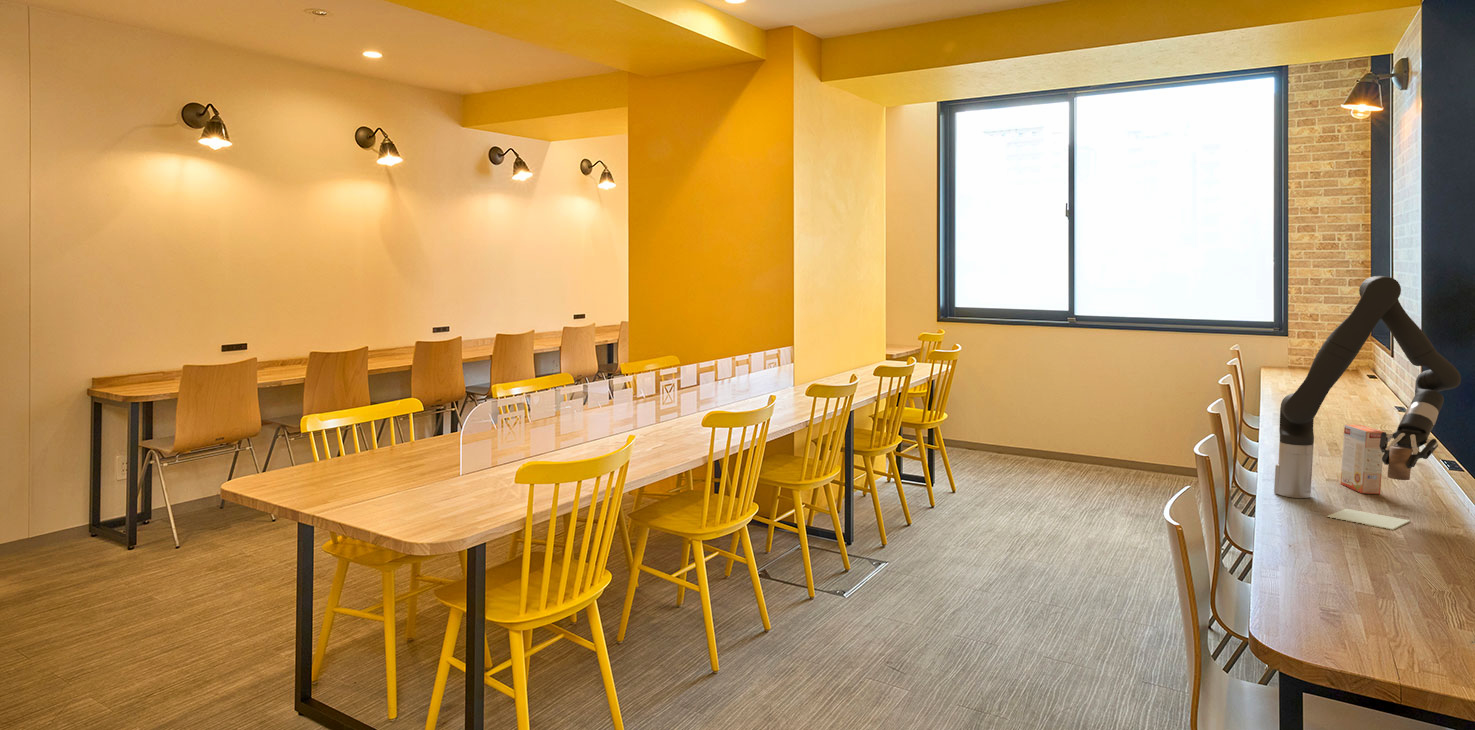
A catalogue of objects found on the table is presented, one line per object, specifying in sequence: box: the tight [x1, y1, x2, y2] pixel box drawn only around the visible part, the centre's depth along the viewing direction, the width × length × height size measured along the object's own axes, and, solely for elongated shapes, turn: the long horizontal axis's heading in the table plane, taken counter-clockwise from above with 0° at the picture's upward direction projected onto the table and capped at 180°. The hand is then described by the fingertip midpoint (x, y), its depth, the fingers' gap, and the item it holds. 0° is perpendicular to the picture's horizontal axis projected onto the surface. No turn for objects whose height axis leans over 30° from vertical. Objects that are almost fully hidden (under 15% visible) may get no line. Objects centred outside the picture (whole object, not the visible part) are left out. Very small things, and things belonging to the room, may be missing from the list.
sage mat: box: [1326, 508, 1411, 531], centre depth 247 cm, size 16×14×1 cm
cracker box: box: [1340, 424, 1384, 495], centre depth 281 cm, size 14×6×21 cm, turn 168°
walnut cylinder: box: [1386, 446, 1413, 481], centre depth 248 cm, size 5×5×9 cm
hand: (1396, 464), depth 247 cm, fingers closed on walnut cylinder, 5 cm apart
